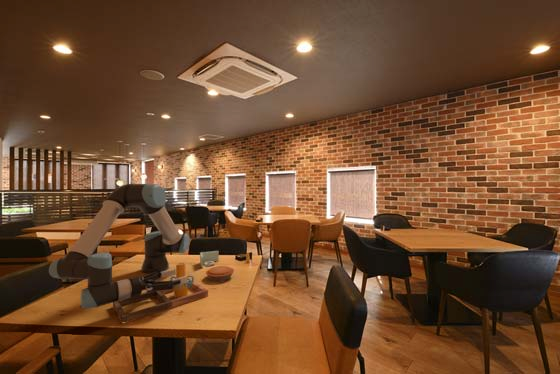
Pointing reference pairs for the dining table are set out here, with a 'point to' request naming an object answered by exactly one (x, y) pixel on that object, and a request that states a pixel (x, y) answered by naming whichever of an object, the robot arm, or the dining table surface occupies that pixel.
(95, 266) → the robot arm
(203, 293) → the rail frame
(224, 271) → the pie
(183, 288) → the orange post with rings
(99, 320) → the dining table surface
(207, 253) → the right angle wall
